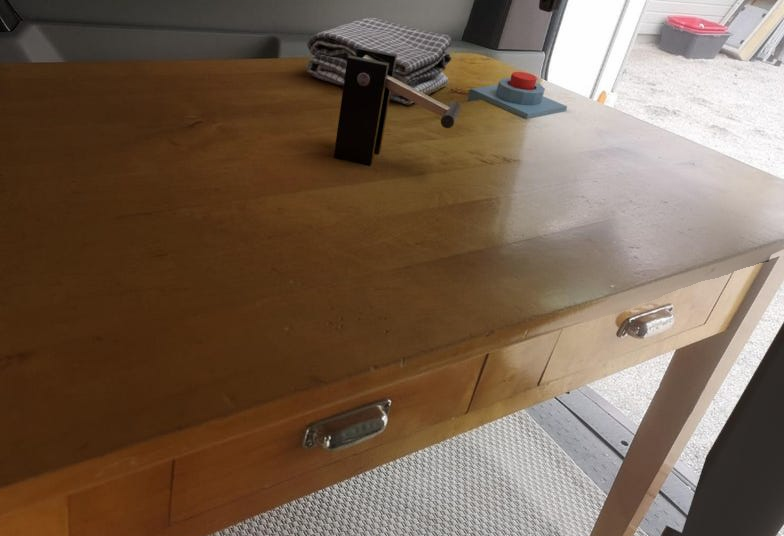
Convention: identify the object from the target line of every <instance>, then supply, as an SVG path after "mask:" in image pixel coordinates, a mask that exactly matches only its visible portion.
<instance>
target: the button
mask: <svg viewBox="0 0 784 536" xmlns="http://www.w3.org/2000/svg"><path fill="white" fill-rule="evenodd" d="M510 78H511V79H510V83H509V85H510V86H512V87H515V88H518V89H523V90H534V87H535V84H536V83H537V79H538V77H537V76H535V75H534V74H532V73H530V72H529V73H528V72H524V71H513V72H512V73H511V75H510Z"/></svg>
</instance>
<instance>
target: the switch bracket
mask: <svg viewBox="0 0 784 536" xmlns="http://www.w3.org/2000/svg"><path fill="white" fill-rule="evenodd" d="M365 55H368V56H370V57H372V58H374V59H376V60H378V61H375V60H370V59H365V58H363V57H364V56H365ZM396 59H397V54H392V53H387V52H382V51H377V50H372V49H367V48H362V47H359V48H358V49H357V53H356V57H355V56H349V57H348V58H347V65H346V72H345V79H344V86H343V85H342V87H343V88H342V93H341V102H340V107H339V117H338V124H337V130H336V138H335V144H334V150H333V151H334V152H333V159H337V160H340V161H345V162H349V163H353V164H358V165H363V166H366V167H371V166H372V165H373V162H374V155H379V154H380V153H381V150H382V143H383V139H384V133H385V127H386V121H387V117H388V110H389V105H390V100H391V99H390V93H391V90H390V89H388V88H386V87H385V85H386V79H387V75H389V76H391V77H393V76H394V71H395V65H396Z"/></svg>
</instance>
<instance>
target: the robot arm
mask: <svg viewBox="0 0 784 536" xmlns="http://www.w3.org/2000/svg"><path fill="white" fill-rule="evenodd" d="M538 3H539V4H538V9H539V10H540V11H543V12H546V13H555V12H558V10H559V8H560V5H561V3H562V0H539V1H538Z"/></svg>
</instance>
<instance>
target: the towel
mask: <svg viewBox="0 0 784 536" xmlns="http://www.w3.org/2000/svg"><path fill="white" fill-rule="evenodd" d="M306 45H307V48H308V50H309V52H310V54H311V55H312V56H314V57H311V58H310V59H309V60H308V62H307V65H306V68H305V71H306V72H307V73H309V74H310V75H312V76H313V77H315V78H316V79H318V80H321V81H324V82H329V83H332V84H335V85H336V86H337V85H338V86H342V87H343V86H344V79H345V72H346V65H347V58H348V57H349V56H355V57H356V53H357V49H358V48H359V47H362V48H367V49H372V50H377V51H382V52H387V53H392V54H397V59H396V65H395V71H394V76H393V78H395V79H397V80H399V81H400V82H402V83H404V84H406V85H408V86H410V87H412V88H414V89H416V90H418V91H420V92H422V93H423V94H425V95H427V96H429V95H431V93H432V94H433V93H435V92H437V91H439V90H440V89H442V88H444V87H446V86H447V85H448V84H449V82H450V81H449V78H448V76H447V75H445V74H444V73H443V72H444V71H445V70H446V67H447V65H448V64H449V63H450V62H451V61H452V57H451V54H450V53H448V52H446V51H447V49H448V48H450V47H451V45H452V39H451V37H450V36H449V35H448V34H443V33H441V34H440V33H436V32H430V31H426V30H423V29H417V28H414V27H410V26H406V25H402V24H399V23H395V22H391V21H387V20H384V19H380V18H375V17H364V18H361V19H358V20H353V21H351V22H349V23H343V24H341V25H339V26H337V27H335V28H330V29H326V30H323V31H319V32H318V33H315V34H313V36H311V37H310V38H309V40H308V42H306ZM389 100H390V101H394V102H397V103H400V104H403V105H405V106H406V105H407V106H409V105H412V104H415V103H414V102H413V101H411V100H409V99H407V98H405V97H403V96H401V95H399V94H397V93H395V92H393V91H391V93H390V99H389Z"/></svg>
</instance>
